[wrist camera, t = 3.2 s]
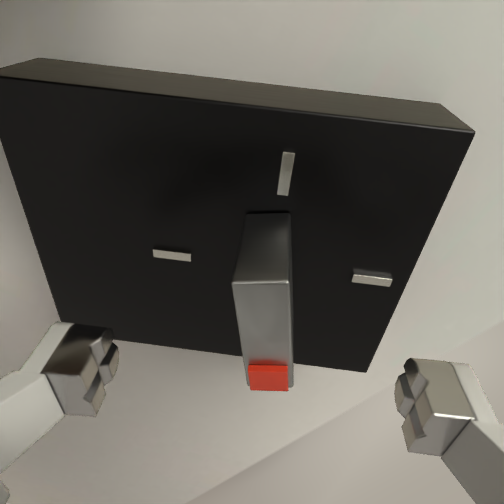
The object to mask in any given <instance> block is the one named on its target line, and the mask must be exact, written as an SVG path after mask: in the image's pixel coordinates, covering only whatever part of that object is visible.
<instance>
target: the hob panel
mask: <svg viewBox="0 0 504 504" xmlns="http://www.w3.org/2000/svg"><path fill="white" fill-rule="evenodd" d="M474 135H475V131H474V130H473V129H472V128H470V127H469V126H468V125H467V124H465V123H464V122H463V121H461V120H460V119H459V118H458V117H456V116H455V115H454V114H452V113H451V112H450V111H449V110H447V109H446V108H445V107H443V106H442V105H441V104H438V103H429V102H421V101H412V100H403V99H394V98H386V97H377V96H368V95H359V94H351V93H342V92H333V91H324V90H316V89H307V88H298V87H290V86H281V85H272V84H263V83H255V82H246V81H237V80H228V79H220V78H211V77H202V76H193V75H185V74H176V73H167V72H158V71H150V70H141V69H132V68H123V67H115V66H106V65H97V64H89V63H80V62H71V61H62V60H54V59H45V58H36V59H33V60H29V61H25V62H21V63H18V64H14V65H10V66H7V67H3V68H0V140H1V143H2V146H3V149H4V152H5V155H6V158H7V161H8V164H9V167H10V170H11V173H12V176H13V179H14V182H15V185H16V188H17V191H18V194H19V197H20V200H21V203H22V206H23V209H24V212H25V215H26V218H27V221H28V224H29V227H30V230H31V233H32V236H33V239H34V242H35V245H36V248H37V251H38V254H39V257H40V260H41V263H42V266H43V269H44V272H45V275H46V278H47V281H48V284H49V287H50V290H51V293H52V296H53V299H54V302H55V305H56V308H57V311H58V314H59V317H60V320H61V322H67V323H76V324H83V325H91V326H99V327H106V328H112V329H113V332H114V335H115V337H114V340H121V341H129V342H137V343H144V344H152V345H159V346H167V347H174V348H182V349H190V350H197V351H205V352H212V353H220V354H227V355H235V356H243V354H242V348H241V342H240V335H239V329H238V323H237V316H236V310H235V304H234V298H233V291H232V285H231V281H232V276H233V271H234V267H235V262H236V257H237V253H238V248H239V243H240V238H241V234H242V229H243V224H244V219H245V216H246V215H247V214H271V213H289V214H290V215H291V247H292V282H293V363H296V364H303V365H311V366H318V367H326V368H334V369H341V370H349V371H356V372H364V373H366V372H367V370H368V368H369V365H370V363H371V361H372V359H373V357H374V355H375V352H376V350H377V348H378V346H379V344H380V341H381V339H382V337H383V335H384V333H385V330H386V328H387V326H388V324H389V322H390V319H391V317H392V315H393V313H394V311H395V308H396V306H397V304H398V302H399V300H400V297H401V295H402V293H403V291H404V289H405V287H406V284H407V282H408V280H409V278H410V276H411V273H412V271H413V269H414V267H415V265H416V262H417V260H418V258H419V256H420V254H421V251H422V249H423V247H424V245H425V243H426V240H427V238H428V236H429V234H430V232H431V229H432V227H433V225H434V223H435V221H436V218H437V216H438V214H439V212H440V210H441V208H442V205H443V203H444V201H445V199H446V197H447V194H448V192H449V190H450V188H451V186H452V183H453V181H454V179H455V177H456V175H457V172H458V170H459V168H460V166H461V164H462V161H463V159H464V157H465V155H466V153H467V150H468V148H469V146H470V144H471V142H472V140H473V137H474Z"/></svg>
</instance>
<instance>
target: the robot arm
mask: <svg viewBox="0 0 504 504" xmlns="http://www.w3.org/2000/svg"><path fill="white" fill-rule="evenodd" d="M114 337H115V335H114V332H113V329H112V328H106V327H99V326H91V325H83V324H76V323H67V322H58V321H57V322H55V323H54V324H53V325H51V326H50V328H49V329H48V331H47V332H46V333H45V335H44V336H43V338H42V339H41V340H40V342H39V343H38V345H37V346H36V348H35V349H34V350H33V352H32V353H31V355H30V356H29V357H28V359H27V360H26V362H25V363H24V364H23V366H22V367H21V369H20V370H19V371H12V372H10V373H9V374H7V375H6V376H4V377H2V378H1V379H0V474H1V473H2V472H3V471H4V470H5V469H7V468H8V467H9V466H10V465H11V464H12V463H13V462H14V461H15V460H17V459H18V458H19V457H20V456H21V455H22V454H23V453H24V452H26V451H27V450H28V449H29V448H30V447H31V446H32V445H33V444H34V443H36V442H37V441H38V440H39V439H40V438H41V437H42V436H43V435H44V434H46V433H47V432H48V431H49V430H50V429H51V428H52V427H53V426H55V425H56V424H57V423H58V422H59V421H60V420H61V419H62V418H63V417H65V415H64V414H66V415H79V416H91V417H96V416H97V413H98V411H99V409H100V407H101V405H102V402H103V400H104V398H105V396H106V392H105V388H104V386H105V385H106V384H108V383H109V382H110V381H112V380H113V378H114V376H115V373H116V371H117V367H118V362H119V350H118V347H117V346H116V345H115V344H114V343H113V342H112V341H113V339H114ZM404 369H405V373H403V374H402V375H400V376H398V379H397V381H396V383H395V393H394V394H395V402H396V407H397V410H398V412H399V413H400V414H401V415H402V416H403V417H404V418H405V421H404V423H403V425H402V430H403V434H404V438H405V442H406V446H407V450H408V452H413V453H420V454H427V455H434V456H441V459H442V460H443V462H444V463H445V464H446V466H447V467H448V468H449V469H450V471H451V472H452V473H453V475H454V476H455V477H456V478H457V480H458V481H459V482H460V484H461V485H462V486H463V488H464V489H465V490H466V492H467V493H468V494H469V495H470V497H471V498H472V499H473V501H474V502H475V503H476V504H504V424H502V423H499V422H498V420H497V417H496V415H495V414H494V411H493V409H492V407H491V405H490V403H489V401H488V399H487V397H486V395H485V393H484V391H483V389H482V387H481V385H480V383H479V381H478V379H477V377H476V374H475V372H474V370H473V368H472V367H471V366H470V365H469V364H464V363H454V362H446V361H438V360H427V359H415V358H410V359H408V360H407V361H406V363H405V365H404ZM9 496H10V493H9V489H8V488H7V487H6V486H5V484H4V483H3V482H2V481H1V480H0V504H6V502H7V500H8V498H9Z"/></svg>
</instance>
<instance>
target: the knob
mask: <svg viewBox="0 0 504 504" xmlns="http://www.w3.org/2000/svg"><path fill="white" fill-rule="evenodd" d="M231 285H232V291H233V298H234V304H235V310H236V316H237V323H238V329H239V335H240V342H241V348H242V354H243V361H244V367H245V373H246V380H247V384H248V386H250V389H251V390H262V391H288V387H290V388H291V387H292V386H293V282H292V247H291V215H290V214H289V213H271V214H247V215H246V216H245V219H244V224H243V229H242V234H241V238H240V243H239V248H238V253H237V257H236V262H235V267H234V271H233V276H232V281H231Z"/></svg>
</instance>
